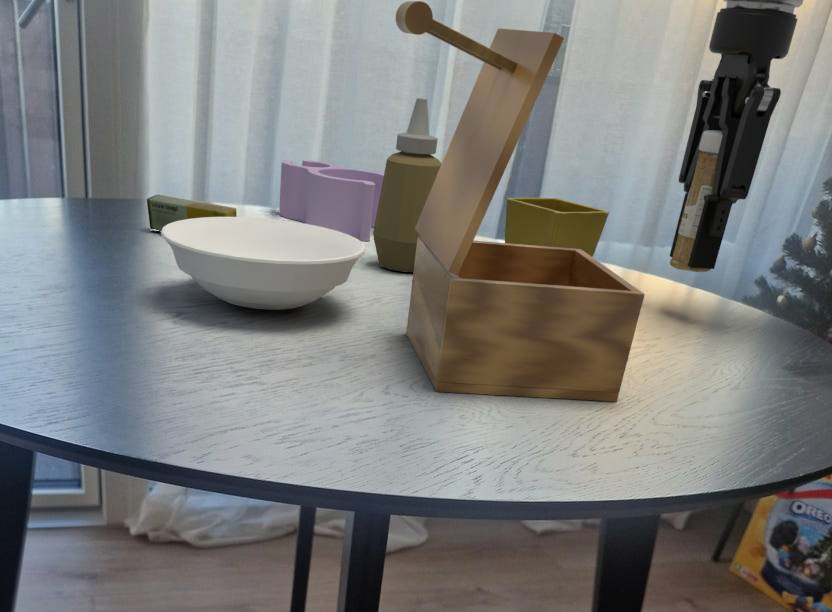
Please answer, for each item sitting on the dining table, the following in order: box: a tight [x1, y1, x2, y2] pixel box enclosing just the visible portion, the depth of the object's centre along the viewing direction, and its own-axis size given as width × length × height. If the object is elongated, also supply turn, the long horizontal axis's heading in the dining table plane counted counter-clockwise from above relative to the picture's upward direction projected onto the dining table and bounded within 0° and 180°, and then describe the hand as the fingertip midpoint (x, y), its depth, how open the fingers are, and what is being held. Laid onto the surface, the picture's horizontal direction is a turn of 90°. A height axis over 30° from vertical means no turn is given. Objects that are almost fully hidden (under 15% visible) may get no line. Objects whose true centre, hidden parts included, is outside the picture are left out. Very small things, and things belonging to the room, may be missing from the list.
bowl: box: [160, 216, 367, 311], centre depth 91 cm, size 20×20×6 cm
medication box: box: [146, 194, 238, 231], centre depth 115 cm, size 12×3×4 cm, turn 63°
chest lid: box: [395, 0, 565, 275], centre depth 72 cm, size 16×17×10 cm
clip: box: [278, 159, 384, 242], centre depth 131 cm, size 20×12×7 cm, turn 43°
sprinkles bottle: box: [669, 130, 723, 273], centre depth 99 cm, size 5×5×13 cm
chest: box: [405, 236, 645, 403], centre depth 81 cm, size 16×17×9 cm
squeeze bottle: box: [372, 97, 442, 273], centre depth 108 cm, size 8×8×18 cm
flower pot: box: [504, 197, 610, 258], centre depth 110 cm, size 9×9×9 cm
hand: (691, 261), depth 102 cm, fingers closed on sprinkles bottle, 4 cm apart
